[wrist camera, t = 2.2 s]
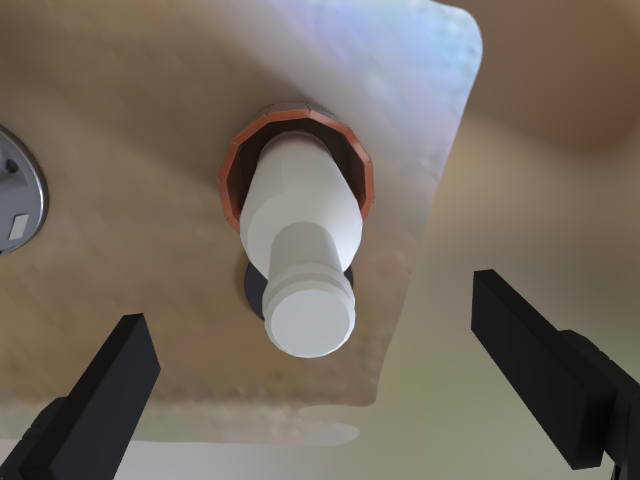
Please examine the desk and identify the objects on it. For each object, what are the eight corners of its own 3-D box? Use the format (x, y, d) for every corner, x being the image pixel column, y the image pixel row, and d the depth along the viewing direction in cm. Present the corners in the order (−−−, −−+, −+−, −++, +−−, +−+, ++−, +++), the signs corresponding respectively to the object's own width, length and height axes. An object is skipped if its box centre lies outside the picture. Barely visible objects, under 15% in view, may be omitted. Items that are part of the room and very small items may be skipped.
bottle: (281, 213, 45) (271, 429, 18) (244, 151, 42) (163, 292, 15) (344, 180, 44) (440, 352, 17) (311, 114, 42) (360, 190, 14)
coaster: (229, 309, 49) (229, 312, 49) (268, 217, 45) (268, 218, 45) (325, 341, 52) (326, 344, 52) (370, 256, 48) (371, 258, 48)
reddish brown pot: (217, 196, 44) (199, 229, 35) (260, 80, 40) (252, 81, 31) (325, 238, 47) (334, 279, 38) (375, 134, 43) (400, 150, 34)
